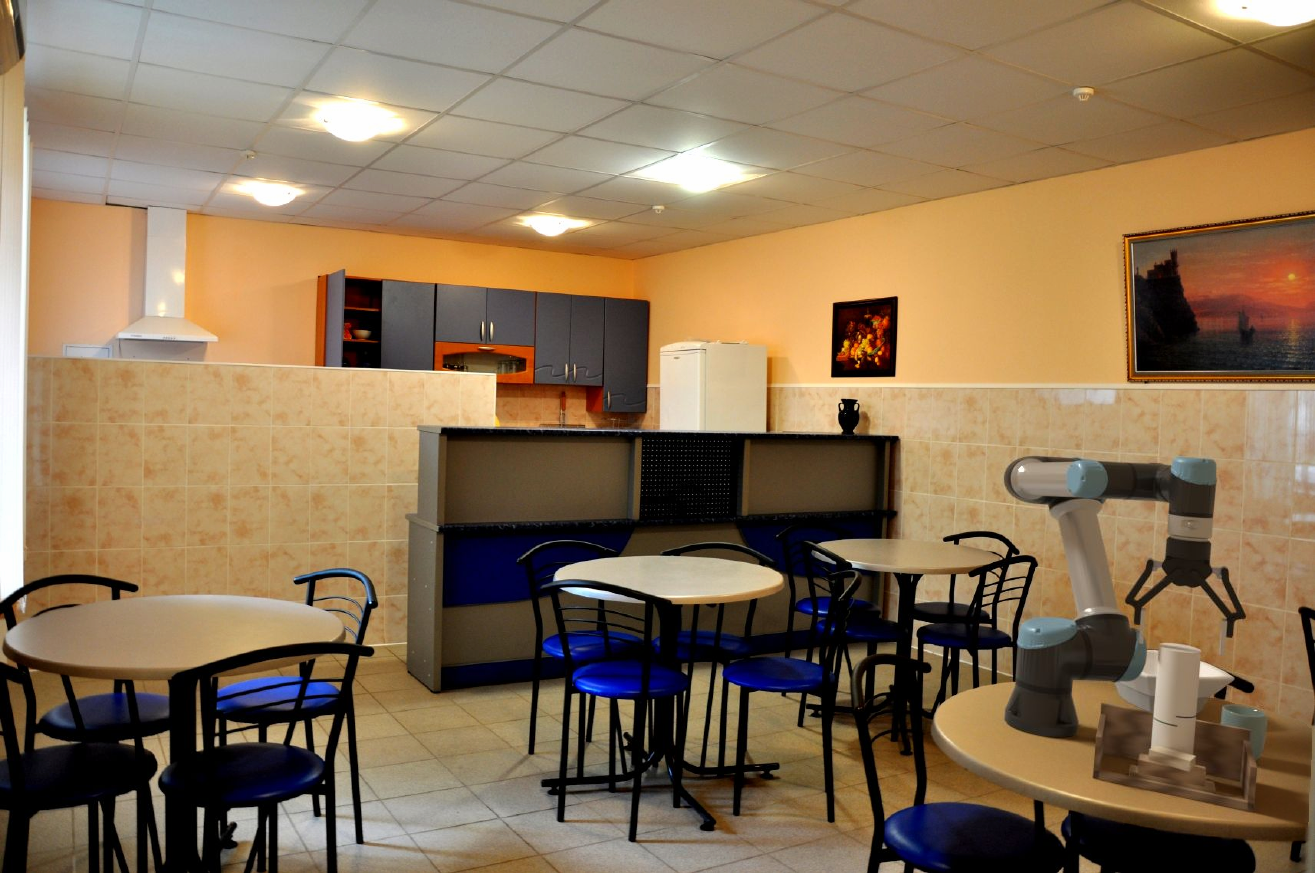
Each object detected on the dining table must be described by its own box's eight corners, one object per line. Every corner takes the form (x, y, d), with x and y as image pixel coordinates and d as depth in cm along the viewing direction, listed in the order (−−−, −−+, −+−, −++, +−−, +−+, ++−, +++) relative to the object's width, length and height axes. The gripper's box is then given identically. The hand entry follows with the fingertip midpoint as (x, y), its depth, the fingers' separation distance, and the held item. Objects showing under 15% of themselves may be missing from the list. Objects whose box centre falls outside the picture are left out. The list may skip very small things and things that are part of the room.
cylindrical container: (1196, 785, 180) (1206, 654, 179) (1155, 780, 181) (1165, 650, 180) (1183, 770, 187) (1193, 645, 186) (1144, 766, 188) (1153, 641, 187)
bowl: (1081, 687, 241) (1084, 647, 240) (1174, 689, 243) (1177, 650, 243) (1140, 720, 216) (1143, 676, 216) (1242, 722, 219) (1245, 678, 219)
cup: (1209, 753, 198) (1213, 705, 197) (1235, 749, 201) (1239, 702, 200) (1246, 767, 190) (1250, 718, 190) (1271, 763, 193) (1275, 715, 193)
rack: (1092, 777, 181) (1096, 725, 180) (1097, 750, 196) (1101, 702, 195) (1253, 812, 169) (1258, 756, 168) (1245, 780, 184) (1250, 729, 183)
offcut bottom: (1128, 784, 180) (1129, 771, 180) (1129, 777, 184) (1130, 764, 183) (1214, 802, 173) (1215, 789, 173) (1213, 795, 177) (1214, 781, 177)
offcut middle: (1137, 772, 179) (1138, 759, 179) (1138, 765, 183) (1139, 753, 183) (1204, 787, 174) (1205, 773, 174) (1204, 779, 178) (1205, 766, 177)
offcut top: (1148, 759, 179) (1149, 749, 179) (1154, 755, 182) (1155, 744, 182) (1189, 771, 174) (1190, 760, 174) (1195, 766, 177) (1195, 755, 177)
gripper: (1115, 532, 184) (1108, 641, 185) (1268, 547, 173) (1259, 663, 173) (1117, 528, 191) (1109, 633, 192) (1264, 543, 179) (1255, 654, 180)
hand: (1180, 648), depth 182 cm, fingers open, 13 cm apart
